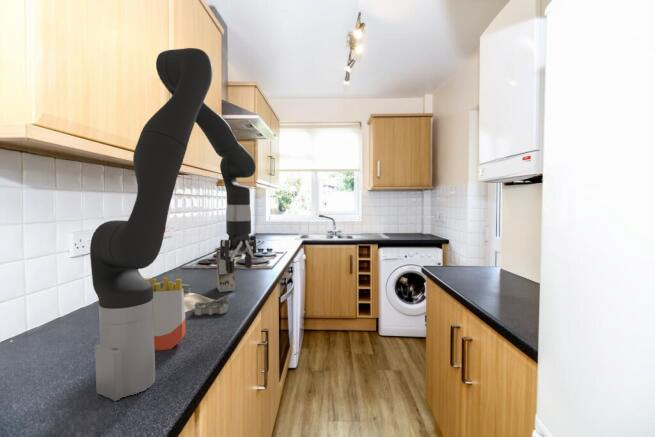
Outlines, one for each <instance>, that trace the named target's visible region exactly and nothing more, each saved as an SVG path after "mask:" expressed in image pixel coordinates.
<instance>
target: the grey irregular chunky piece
mask: <svg viewBox="0 0 655 437" xmlns="http://www.w3.org/2000/svg"><path fill="white" fill-rule="evenodd" d="M228 300H229V297H228V296H222V297H219V298H218V299H213V301H206V302H202V303H200V302H196V304H195V305H194V306H195V308H194V309H193V310H194V315H196V316H202V315H209V316H211V315H213V314H220V315H223V314H224V313H227V312H228V309H229V308H228V306H229V302H228Z"/></svg>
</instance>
